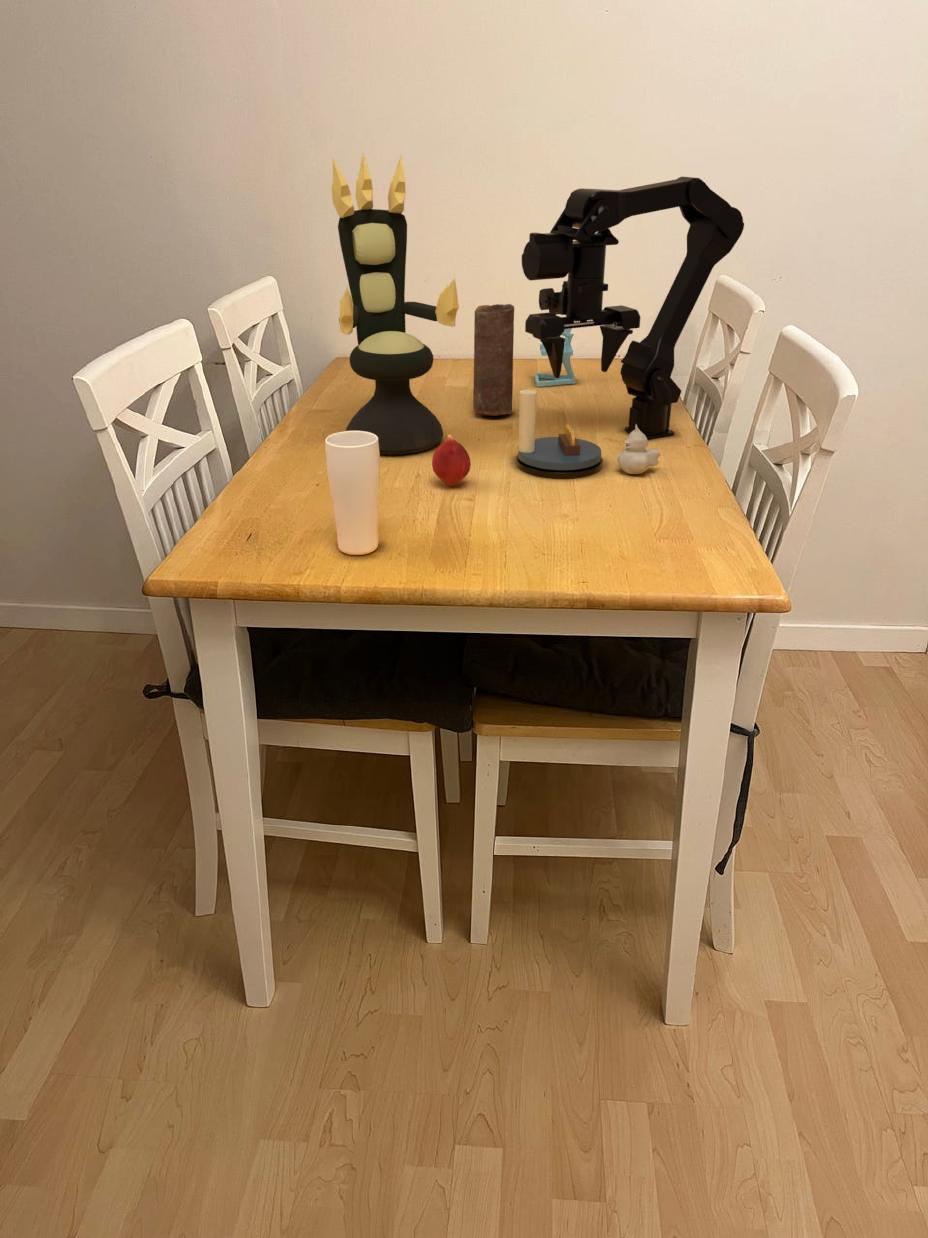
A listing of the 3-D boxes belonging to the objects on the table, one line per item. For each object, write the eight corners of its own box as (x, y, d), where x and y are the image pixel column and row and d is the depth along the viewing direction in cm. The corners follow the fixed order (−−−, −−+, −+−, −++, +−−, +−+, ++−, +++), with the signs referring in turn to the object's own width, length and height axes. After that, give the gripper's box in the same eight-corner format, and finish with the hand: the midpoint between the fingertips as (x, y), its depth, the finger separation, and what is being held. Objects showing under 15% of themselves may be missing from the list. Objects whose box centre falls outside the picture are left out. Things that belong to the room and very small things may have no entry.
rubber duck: (614, 467, 155) (617, 418, 151) (654, 466, 155) (659, 418, 151) (619, 478, 150) (623, 428, 146) (661, 478, 150) (666, 428, 146)
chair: (576, 386, 199) (579, 327, 193) (536, 386, 199) (538, 327, 193) (573, 377, 206) (576, 319, 200) (534, 377, 206) (536, 319, 200)
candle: (508, 422, 177) (510, 309, 167) (469, 420, 178) (469, 308, 169) (515, 410, 183) (517, 302, 174) (477, 408, 185) (477, 300, 175)
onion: (475, 481, 149) (475, 431, 145) (463, 494, 144) (463, 442, 140) (440, 477, 151) (439, 428, 147) (426, 490, 146) (425, 438, 142)
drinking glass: (333, 539, 129) (325, 430, 122) (383, 537, 130) (378, 429, 123) (331, 560, 123) (323, 447, 116) (384, 558, 124) (379, 445, 117)
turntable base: (573, 446, 164) (573, 440, 164) (619, 470, 153) (619, 464, 153) (500, 457, 159) (500, 451, 159) (542, 484, 148) (543, 478, 148)
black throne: (353, 465, 156) (335, 157, 135) (320, 427, 174) (299, 151, 153) (462, 451, 162) (460, 155, 141) (418, 416, 180) (411, 149, 159)
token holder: (591, 442, 162) (595, 379, 157) (609, 468, 150) (614, 401, 145) (512, 444, 161) (514, 381, 156) (524, 471, 149) (526, 403, 144)
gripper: (607, 265, 162) (601, 358, 170) (510, 272, 155) (508, 369, 162) (646, 274, 153) (637, 372, 161) (544, 283, 146) (540, 385, 154)
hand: (580, 374), depth 160 cm, fingers open, 9 cm apart
